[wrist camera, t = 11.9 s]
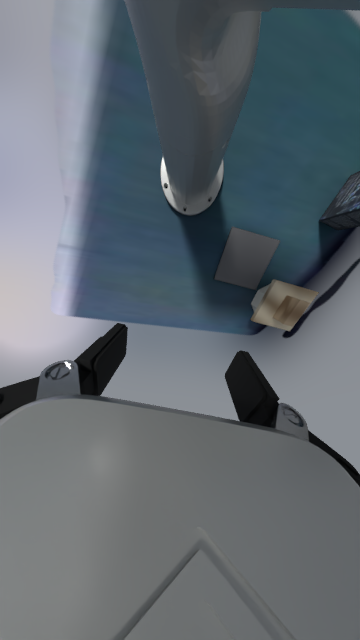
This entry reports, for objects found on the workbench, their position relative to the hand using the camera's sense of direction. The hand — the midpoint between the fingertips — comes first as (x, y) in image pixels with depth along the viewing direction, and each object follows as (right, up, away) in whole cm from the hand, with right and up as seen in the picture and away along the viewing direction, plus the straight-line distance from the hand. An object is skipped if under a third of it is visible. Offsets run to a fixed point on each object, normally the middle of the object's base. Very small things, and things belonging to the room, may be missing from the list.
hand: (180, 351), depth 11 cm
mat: (+17, +18, +22) cm, 33 cm away
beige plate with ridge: (+26, +6, +22) cm, 35 cm away
